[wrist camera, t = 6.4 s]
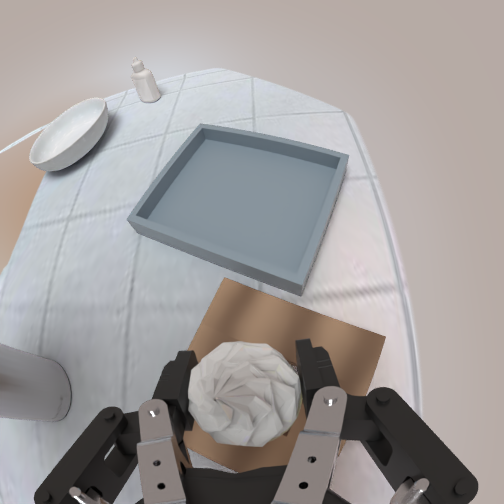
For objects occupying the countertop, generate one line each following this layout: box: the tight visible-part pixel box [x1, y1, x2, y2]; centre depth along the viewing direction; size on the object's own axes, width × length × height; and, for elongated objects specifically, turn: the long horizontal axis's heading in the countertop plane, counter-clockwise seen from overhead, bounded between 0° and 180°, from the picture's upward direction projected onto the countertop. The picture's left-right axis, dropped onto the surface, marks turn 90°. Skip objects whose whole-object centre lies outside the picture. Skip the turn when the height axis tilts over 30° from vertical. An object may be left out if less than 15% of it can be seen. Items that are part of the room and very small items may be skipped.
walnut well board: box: [183, 277, 386, 473], centre depth 26 cm, size 18×18×3 cm
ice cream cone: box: [188, 341, 302, 447], centre depth 13 cm, size 5×5×15 cm
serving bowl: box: [29, 98, 108, 171], centre depth 49 cm, size 21×21×7 cm
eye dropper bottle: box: [131, 57, 161, 103], centre depth 51 cm, size 4×6×12 cm
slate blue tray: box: [127, 124, 349, 296], centre depth 37 cm, size 24×20×4 cm
